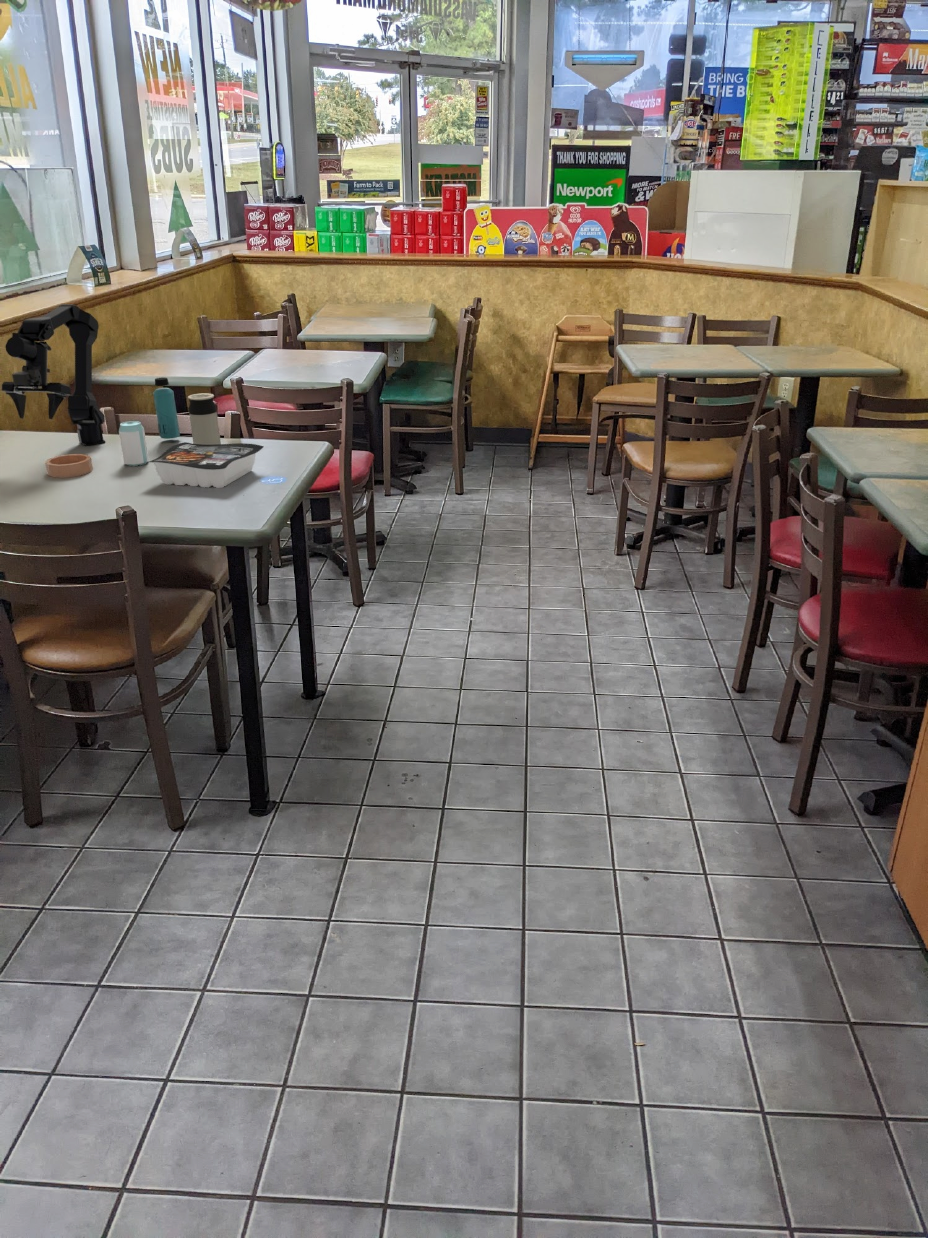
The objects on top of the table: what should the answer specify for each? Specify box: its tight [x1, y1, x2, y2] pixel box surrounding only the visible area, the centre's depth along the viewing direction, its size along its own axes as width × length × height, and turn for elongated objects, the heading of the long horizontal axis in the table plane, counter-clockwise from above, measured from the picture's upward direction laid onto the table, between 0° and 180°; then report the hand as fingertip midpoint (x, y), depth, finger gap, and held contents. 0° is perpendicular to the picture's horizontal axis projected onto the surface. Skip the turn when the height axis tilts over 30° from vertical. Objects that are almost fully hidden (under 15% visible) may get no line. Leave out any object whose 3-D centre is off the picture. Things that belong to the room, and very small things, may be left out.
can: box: [118, 420, 150, 467], centre depth 287 cm, size 7×7×12 cm
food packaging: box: [145, 442, 265, 489], centre depth 273 cm, size 25×8×23 cm
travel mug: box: [187, 392, 222, 445], centre depth 292 cm, size 8×8×18 cm
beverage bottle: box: [152, 376, 181, 440], centre depth 309 cm, size 6×7×20 cm
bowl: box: [44, 453, 94, 479], centre depth 283 cm, size 12×12×4 cm
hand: (36, 418), depth 283 cm, fingers open, 9 cm apart
